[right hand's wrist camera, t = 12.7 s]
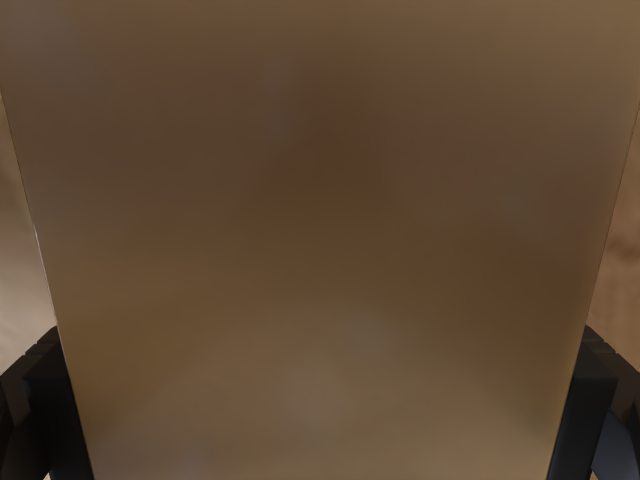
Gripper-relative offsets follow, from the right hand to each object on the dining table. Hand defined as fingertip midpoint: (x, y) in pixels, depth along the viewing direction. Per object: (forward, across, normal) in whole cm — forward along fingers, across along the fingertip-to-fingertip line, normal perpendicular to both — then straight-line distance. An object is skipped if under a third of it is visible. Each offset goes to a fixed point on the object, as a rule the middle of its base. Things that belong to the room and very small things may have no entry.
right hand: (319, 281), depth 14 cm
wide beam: (+1, 0, -19) cm, 19 cm away
